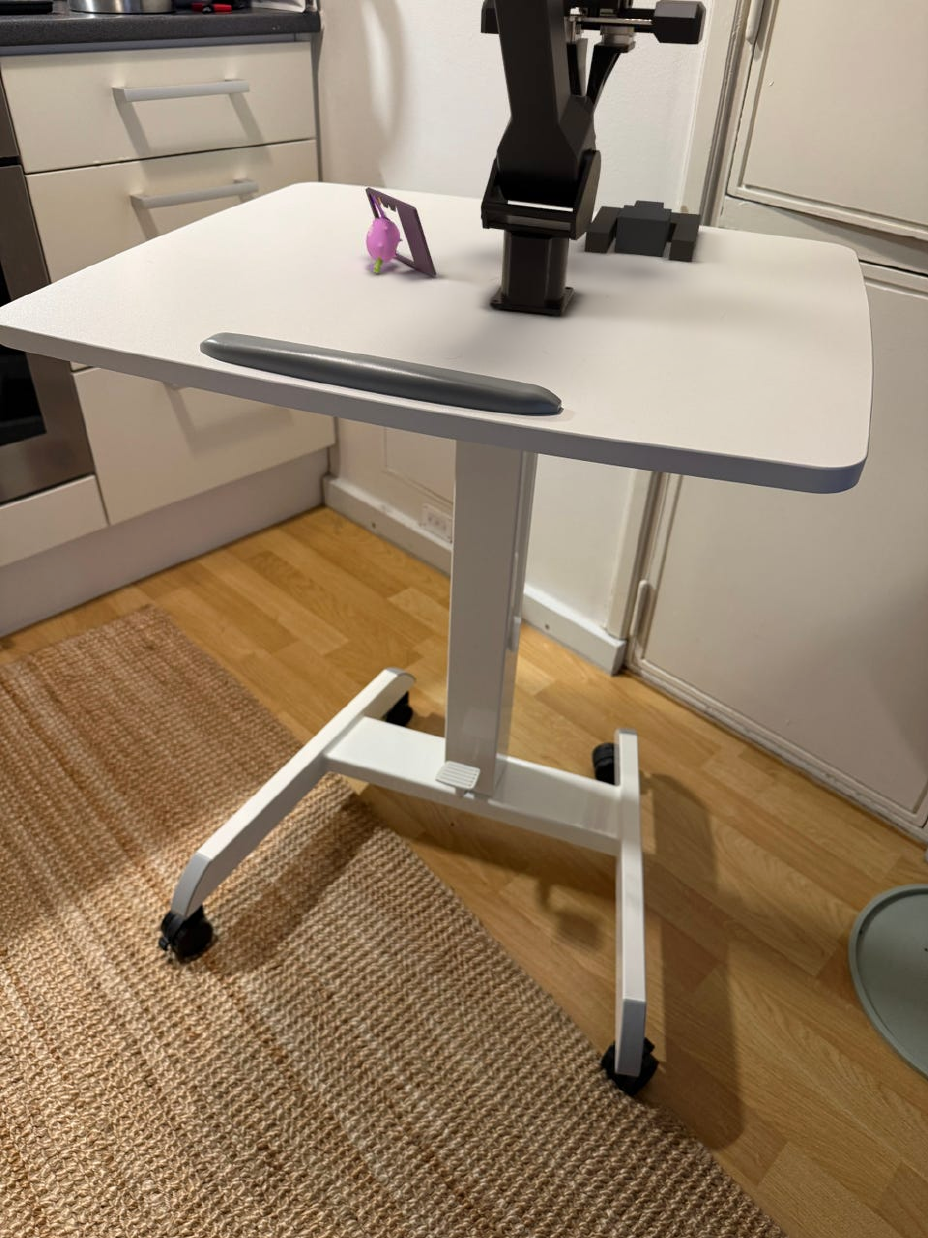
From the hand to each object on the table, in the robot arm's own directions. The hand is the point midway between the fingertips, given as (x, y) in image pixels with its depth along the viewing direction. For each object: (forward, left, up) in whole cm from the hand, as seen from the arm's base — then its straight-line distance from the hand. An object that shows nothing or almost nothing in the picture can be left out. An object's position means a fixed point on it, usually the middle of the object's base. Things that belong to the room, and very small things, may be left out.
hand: (582, 130), depth 83 cm
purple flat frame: (-7, +16, -12) cm, 22 cm away
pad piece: (+9, -6, -12) cm, 16 cm away
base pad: (+10, -6, -12) cm, 17 cm away
